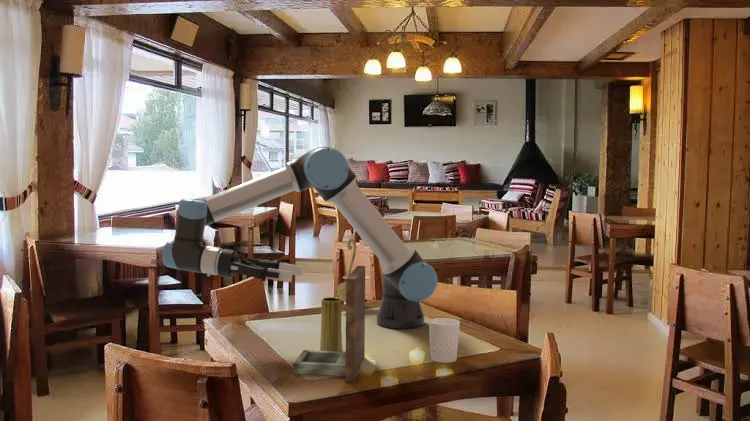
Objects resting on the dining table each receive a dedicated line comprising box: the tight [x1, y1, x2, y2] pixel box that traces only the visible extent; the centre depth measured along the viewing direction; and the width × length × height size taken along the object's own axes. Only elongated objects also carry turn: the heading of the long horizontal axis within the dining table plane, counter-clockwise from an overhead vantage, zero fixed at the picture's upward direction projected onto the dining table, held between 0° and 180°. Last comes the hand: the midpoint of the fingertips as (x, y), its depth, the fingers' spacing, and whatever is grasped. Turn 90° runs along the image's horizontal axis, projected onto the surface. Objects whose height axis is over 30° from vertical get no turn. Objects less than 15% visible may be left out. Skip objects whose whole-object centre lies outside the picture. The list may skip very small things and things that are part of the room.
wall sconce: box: [336, 237, 370, 303], centre depth 227 cm, size 14×10×25 cm
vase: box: [319, 296, 344, 352], centre depth 173 cm, size 6×6×14 cm
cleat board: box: [292, 265, 366, 383], centre depth 159 cm, size 15×20×24 cm
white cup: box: [428, 317, 461, 364], centre depth 167 cm, size 8×8×10 cm
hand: (297, 273), depth 174 cm, fingers open, 13 cm apart
